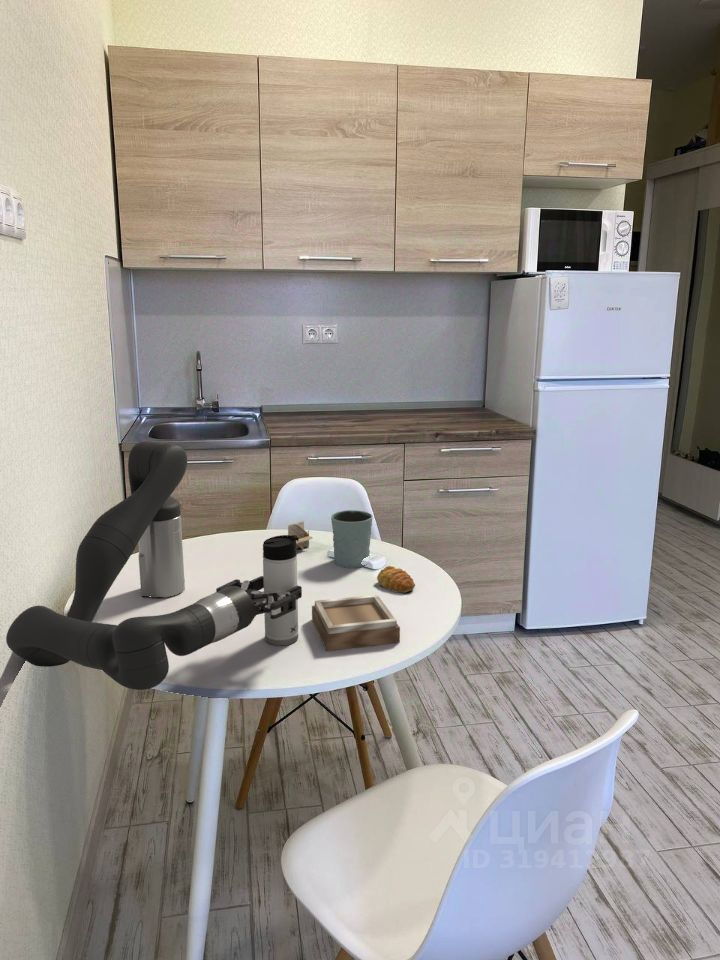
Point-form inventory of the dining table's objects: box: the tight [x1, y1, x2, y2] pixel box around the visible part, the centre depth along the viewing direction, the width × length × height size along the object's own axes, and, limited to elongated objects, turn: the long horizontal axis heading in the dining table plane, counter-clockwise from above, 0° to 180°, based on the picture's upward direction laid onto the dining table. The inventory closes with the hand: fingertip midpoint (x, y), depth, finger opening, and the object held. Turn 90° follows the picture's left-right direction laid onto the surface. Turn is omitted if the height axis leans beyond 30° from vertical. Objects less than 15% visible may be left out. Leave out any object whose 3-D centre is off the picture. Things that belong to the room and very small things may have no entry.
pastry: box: [376, 565, 416, 594], centre depth 160 cm, size 9×7×4 cm
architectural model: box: [287, 520, 314, 550], centre depth 184 cm, size 3×7×7 cm, turn 139°
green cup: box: [331, 509, 373, 569], centre depth 174 cm, size 10×10×12 cm
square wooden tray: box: [311, 594, 401, 652], centre depth 137 cm, size 14×14×4 cm
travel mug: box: [262, 534, 299, 646], centre depth 132 cm, size 6×7×20 cm
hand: (281, 585), depth 131 cm, fingers open, 8 cm apart
